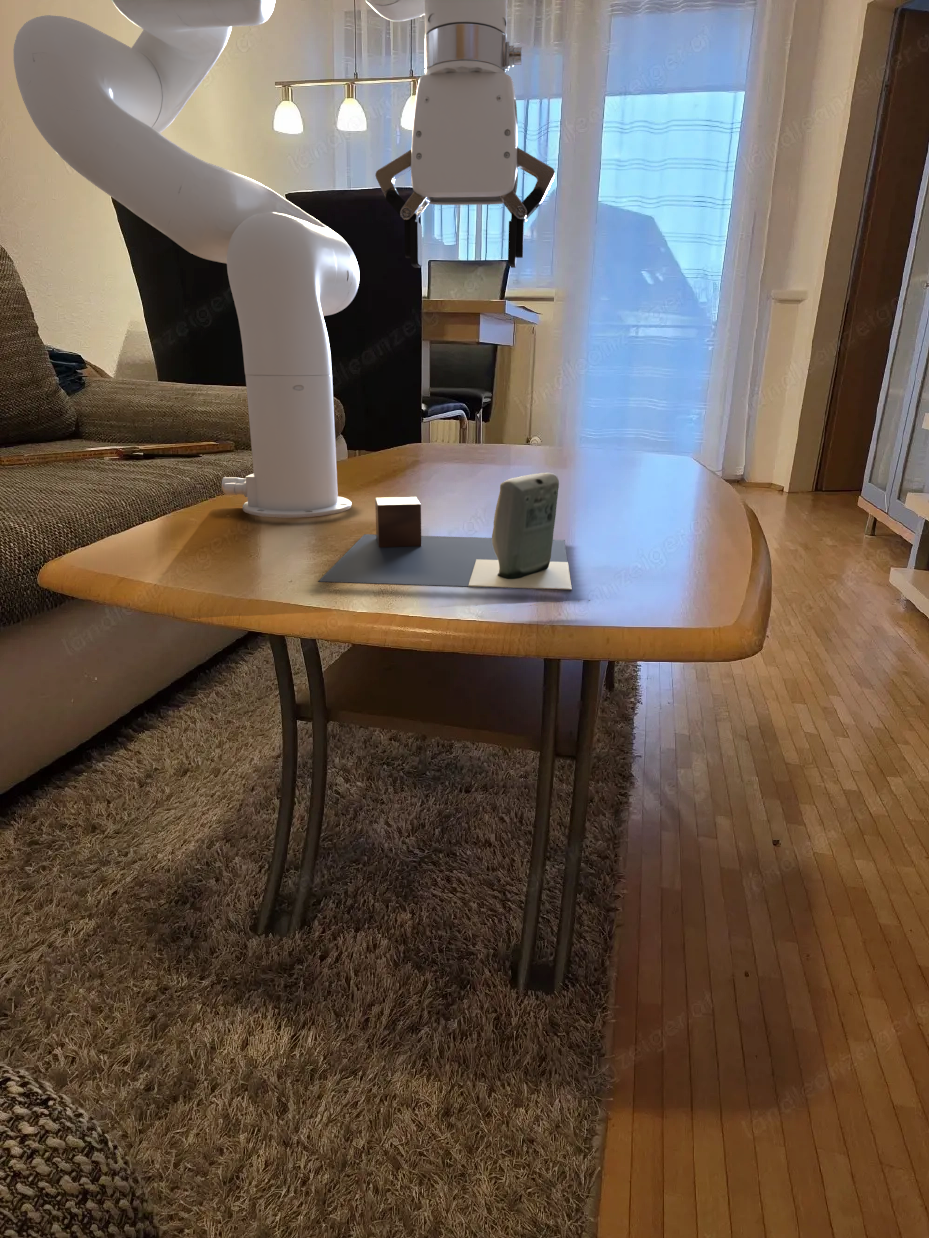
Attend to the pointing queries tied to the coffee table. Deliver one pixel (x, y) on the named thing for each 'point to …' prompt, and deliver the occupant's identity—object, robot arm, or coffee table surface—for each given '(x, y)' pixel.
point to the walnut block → (398, 521)
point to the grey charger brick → (525, 524)
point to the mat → (442, 565)
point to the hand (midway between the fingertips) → (464, 266)
